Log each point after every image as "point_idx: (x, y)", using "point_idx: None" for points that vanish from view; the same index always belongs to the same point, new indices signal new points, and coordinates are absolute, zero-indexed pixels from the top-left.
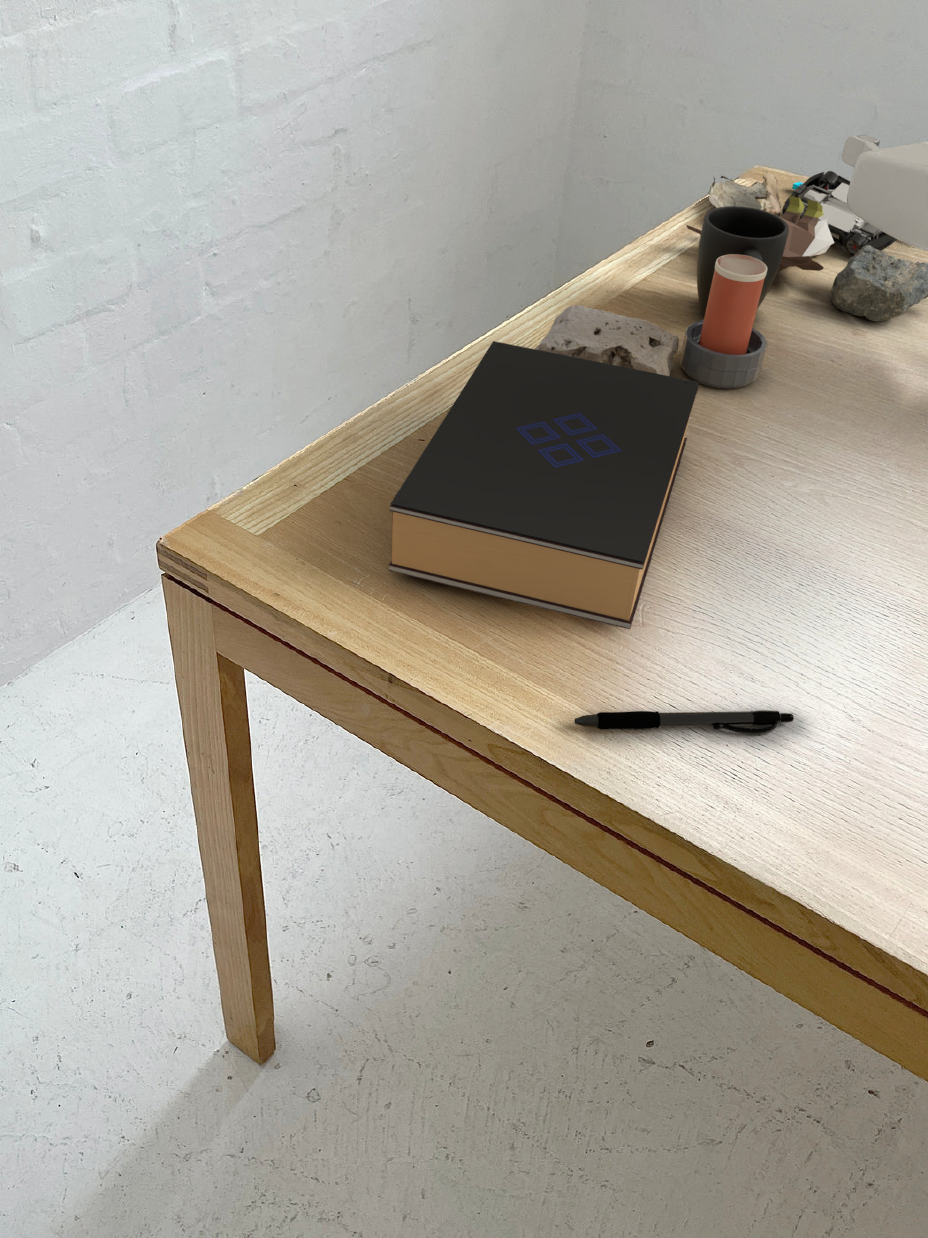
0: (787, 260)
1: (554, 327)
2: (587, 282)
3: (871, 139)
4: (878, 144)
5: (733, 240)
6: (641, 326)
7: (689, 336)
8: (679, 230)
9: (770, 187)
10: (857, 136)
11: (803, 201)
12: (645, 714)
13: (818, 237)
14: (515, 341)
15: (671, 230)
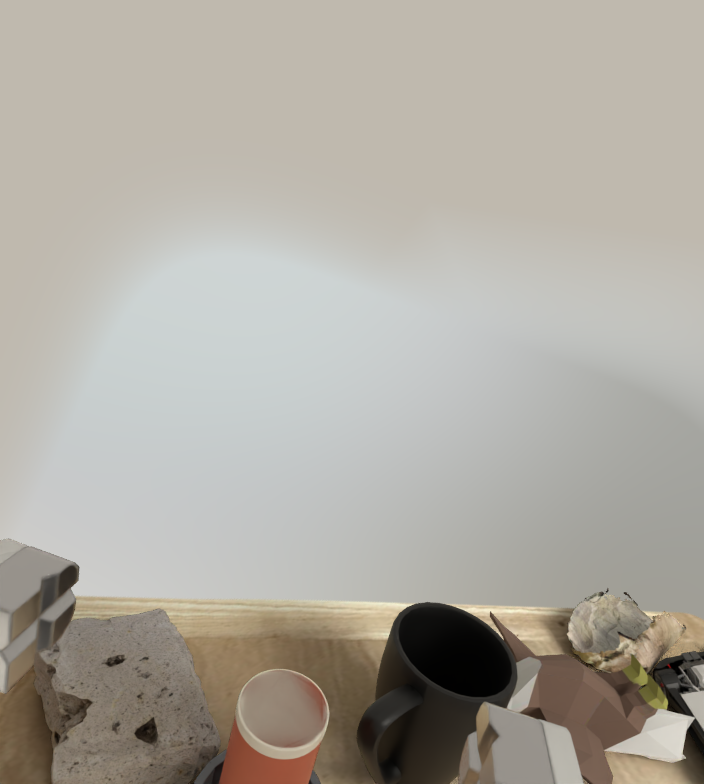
0: None
1: (81, 620)
2: (324, 605)
3: (2, 588)
4: (5, 623)
5: (397, 659)
6: (172, 694)
7: (215, 761)
8: (512, 616)
9: (656, 632)
10: (19, 552)
11: (688, 673)
12: None
13: (655, 736)
14: (133, 613)
15: (503, 611)
